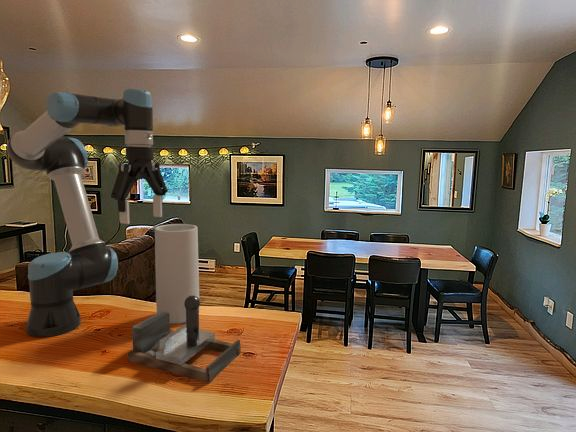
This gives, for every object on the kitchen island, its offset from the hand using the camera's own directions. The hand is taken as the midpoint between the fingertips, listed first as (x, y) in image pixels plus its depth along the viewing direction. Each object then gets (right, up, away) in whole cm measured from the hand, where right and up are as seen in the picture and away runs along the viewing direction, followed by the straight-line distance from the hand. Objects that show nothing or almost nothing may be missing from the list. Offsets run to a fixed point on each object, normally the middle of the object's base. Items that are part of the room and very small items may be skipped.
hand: (142, 219), depth 115 cm
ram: (+15, -38, -6) cm, 41 cm away
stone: (+7, -38, -4) cm, 39 cm away
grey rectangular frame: (+14, -38, -5) cm, 41 cm away
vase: (+5, -34, +22) cm, 41 cm away
